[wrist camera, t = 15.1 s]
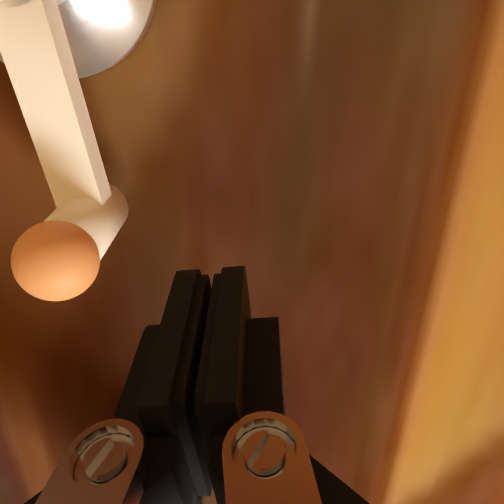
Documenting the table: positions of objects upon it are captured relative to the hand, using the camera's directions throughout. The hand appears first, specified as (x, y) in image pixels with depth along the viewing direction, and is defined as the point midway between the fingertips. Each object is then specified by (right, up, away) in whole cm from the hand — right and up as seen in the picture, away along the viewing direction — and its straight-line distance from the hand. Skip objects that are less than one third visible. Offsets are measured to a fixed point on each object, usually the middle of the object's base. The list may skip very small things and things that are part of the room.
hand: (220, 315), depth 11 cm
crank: (-7, +9, +7) cm, 13 cm away
